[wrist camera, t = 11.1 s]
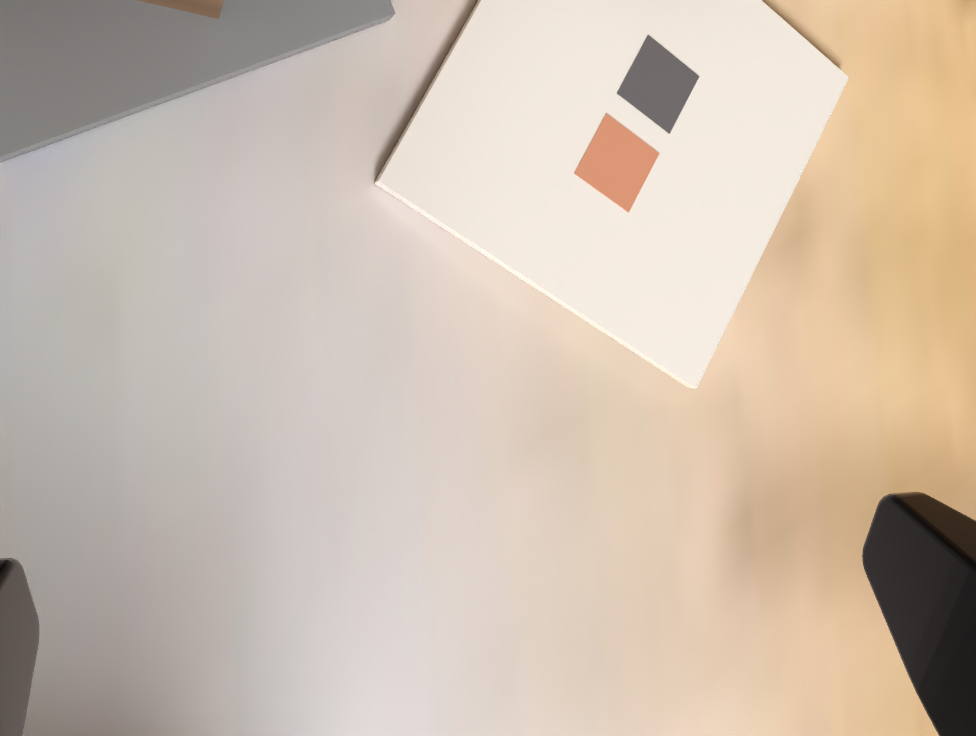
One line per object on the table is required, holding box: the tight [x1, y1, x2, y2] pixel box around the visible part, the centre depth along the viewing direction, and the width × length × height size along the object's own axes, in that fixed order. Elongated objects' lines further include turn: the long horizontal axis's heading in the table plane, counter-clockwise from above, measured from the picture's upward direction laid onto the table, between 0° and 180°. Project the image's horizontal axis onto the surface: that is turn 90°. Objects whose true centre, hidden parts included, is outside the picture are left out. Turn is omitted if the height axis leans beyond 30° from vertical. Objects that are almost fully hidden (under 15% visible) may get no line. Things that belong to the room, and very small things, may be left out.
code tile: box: [374, 0, 849, 388], centre depth 23 cm, size 10×10×1 cm
